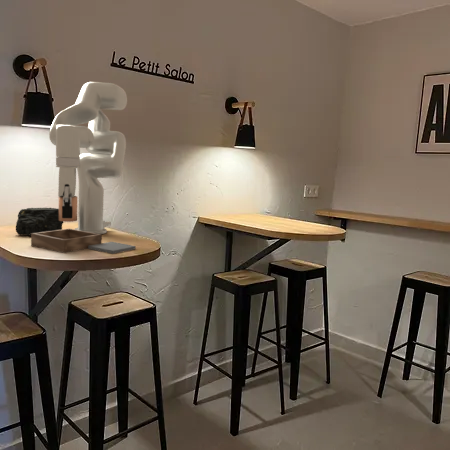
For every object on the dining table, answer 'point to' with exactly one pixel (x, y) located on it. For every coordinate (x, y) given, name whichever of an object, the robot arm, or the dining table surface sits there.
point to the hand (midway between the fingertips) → (68, 215)
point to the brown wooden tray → (65, 240)
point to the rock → (38, 220)
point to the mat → (111, 247)
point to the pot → (74, 210)
